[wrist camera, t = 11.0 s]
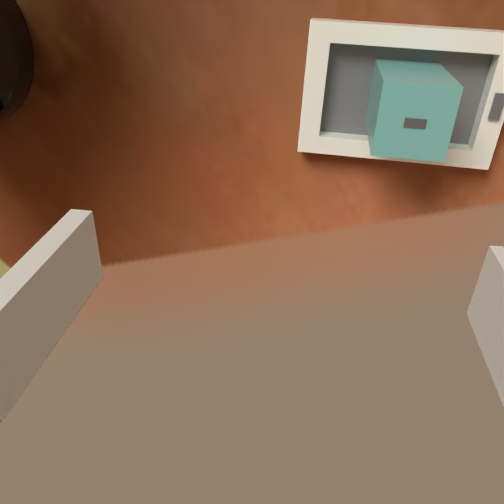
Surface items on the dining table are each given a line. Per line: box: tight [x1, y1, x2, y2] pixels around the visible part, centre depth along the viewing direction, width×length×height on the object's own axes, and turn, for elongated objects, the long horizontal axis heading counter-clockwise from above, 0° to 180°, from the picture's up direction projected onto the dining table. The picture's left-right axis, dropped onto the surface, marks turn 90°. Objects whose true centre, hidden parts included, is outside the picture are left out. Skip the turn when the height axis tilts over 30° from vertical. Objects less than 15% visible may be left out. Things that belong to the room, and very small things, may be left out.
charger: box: [365, 59, 464, 162], centre depth 36 cm, size 5×5×9 cm
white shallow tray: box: [298, 18, 504, 170], centre depth 39 cm, size 16×10×2 cm, turn 87°
